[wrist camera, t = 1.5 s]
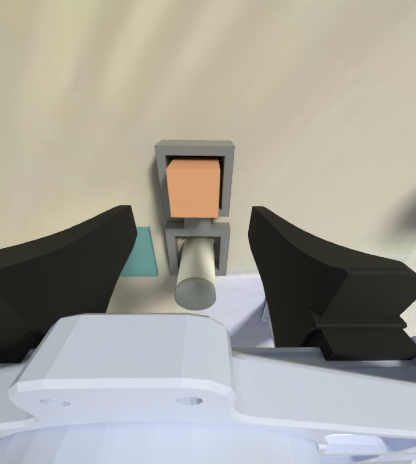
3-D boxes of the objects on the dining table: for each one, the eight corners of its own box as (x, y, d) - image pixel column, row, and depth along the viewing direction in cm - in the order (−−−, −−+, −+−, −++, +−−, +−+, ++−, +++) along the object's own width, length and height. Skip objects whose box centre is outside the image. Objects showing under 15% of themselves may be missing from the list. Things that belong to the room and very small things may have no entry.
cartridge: (213, 258, 26) (215, 310, 19) (184, 258, 26) (176, 310, 19) (214, 234, 24) (216, 284, 17) (182, 234, 24) (172, 283, 17)
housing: (225, 267, 27) (226, 284, 24) (172, 267, 27) (169, 283, 24) (236, 140, 18) (240, 146, 15) (156, 139, 18) (148, 145, 15)
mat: (158, 273, 27) (157, 276, 27) (103, 272, 27) (101, 276, 27) (149, 227, 23) (148, 229, 22) (84, 226, 23) (81, 229, 22)
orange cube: (216, 198, 19) (217, 217, 16) (177, 198, 19) (171, 217, 16) (217, 158, 17) (220, 170, 14) (174, 157, 17) (165, 169, 14)
